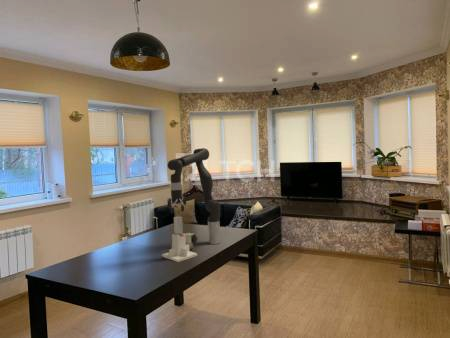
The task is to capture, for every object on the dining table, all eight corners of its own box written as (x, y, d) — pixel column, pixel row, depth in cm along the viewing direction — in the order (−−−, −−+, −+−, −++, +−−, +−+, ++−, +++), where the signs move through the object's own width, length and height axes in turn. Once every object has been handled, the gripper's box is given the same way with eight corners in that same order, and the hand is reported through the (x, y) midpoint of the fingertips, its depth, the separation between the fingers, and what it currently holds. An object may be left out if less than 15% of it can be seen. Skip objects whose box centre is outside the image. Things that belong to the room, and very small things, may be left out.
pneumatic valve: (193, 250, 244) (193, 234, 244) (181, 248, 251) (181, 232, 250) (198, 248, 249) (197, 232, 248) (186, 246, 256) (185, 230, 255)
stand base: (181, 250, 244) (180, 229, 244) (197, 255, 232) (196, 232, 231) (162, 256, 233) (160, 233, 232) (177, 262, 220) (176, 237, 219)
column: (179, 243, 235) (178, 216, 234) (183, 244, 232) (182, 217, 231) (174, 245, 232) (173, 217, 231) (178, 246, 229) (177, 218, 228)
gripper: (181, 187, 237) (182, 210, 238) (164, 189, 227) (165, 213, 228) (187, 188, 232) (189, 211, 233) (170, 190, 222) (172, 214, 223)
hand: (177, 212), depth 230 cm, fingers open, 8 cm apart
